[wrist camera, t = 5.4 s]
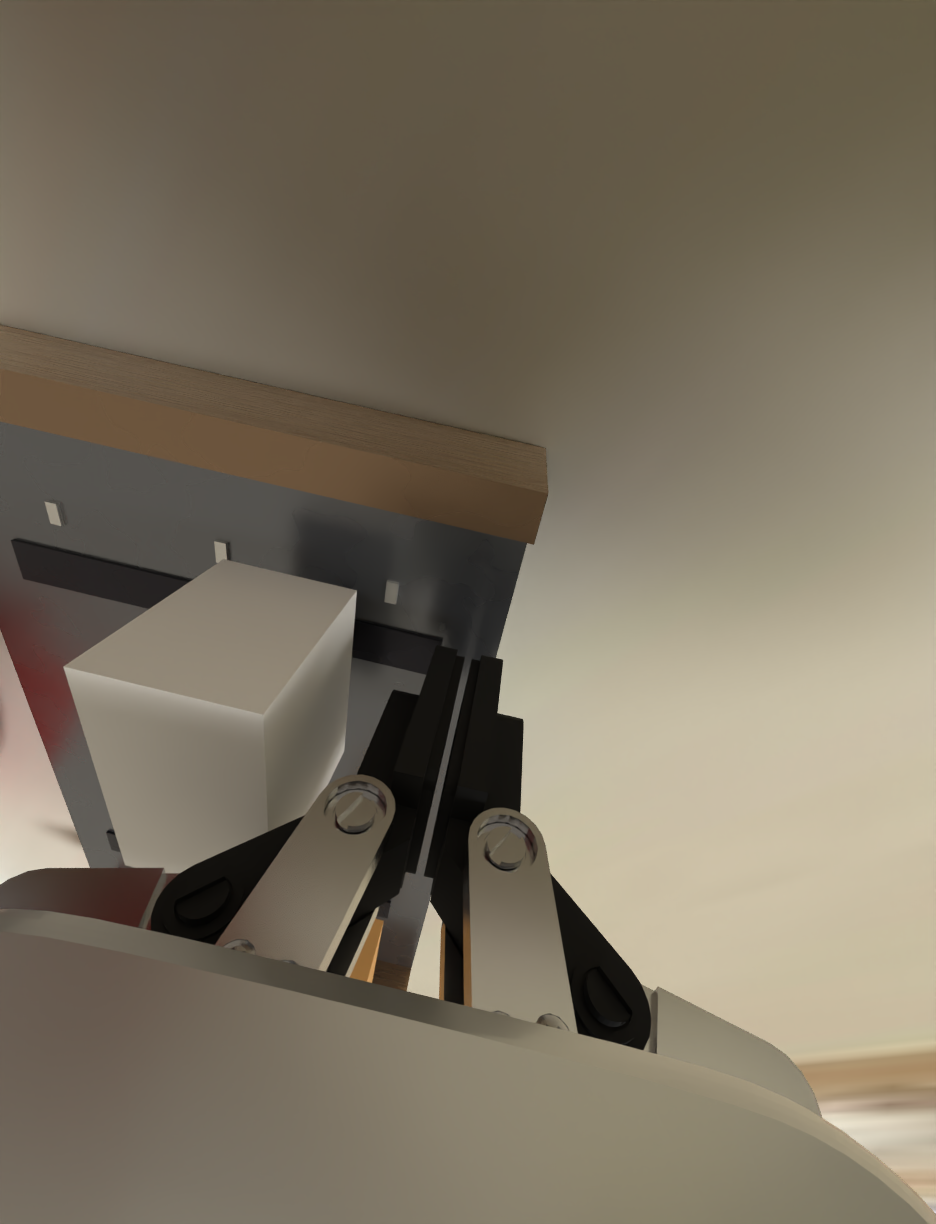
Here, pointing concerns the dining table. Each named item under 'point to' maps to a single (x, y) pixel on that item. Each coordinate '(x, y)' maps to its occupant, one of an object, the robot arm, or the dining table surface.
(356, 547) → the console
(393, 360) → the dining table surface
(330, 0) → the dining table surface
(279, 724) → the block
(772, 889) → the dining table surface
